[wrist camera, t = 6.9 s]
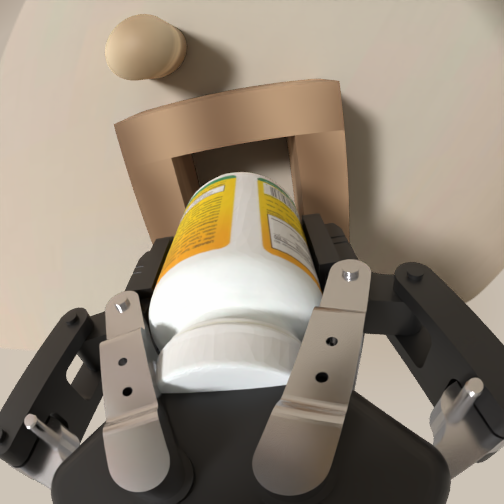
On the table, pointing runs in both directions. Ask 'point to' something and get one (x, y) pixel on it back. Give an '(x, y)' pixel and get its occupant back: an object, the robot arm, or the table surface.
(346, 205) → the square wooden frame
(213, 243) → the supplement bottle
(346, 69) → the table surface
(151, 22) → the short dowel
